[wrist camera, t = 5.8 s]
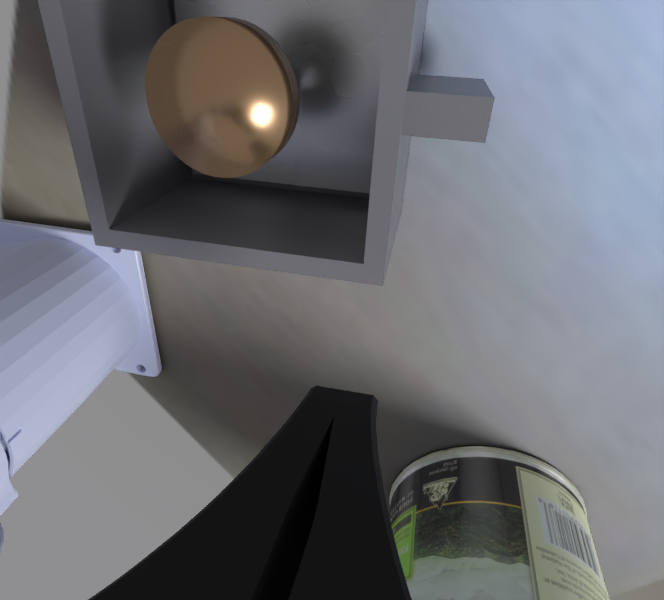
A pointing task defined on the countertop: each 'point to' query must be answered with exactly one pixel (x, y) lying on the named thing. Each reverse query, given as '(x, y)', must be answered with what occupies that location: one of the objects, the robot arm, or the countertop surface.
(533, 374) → the countertop surface
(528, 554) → the coffee can
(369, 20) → the plunger
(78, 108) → the grey open box
